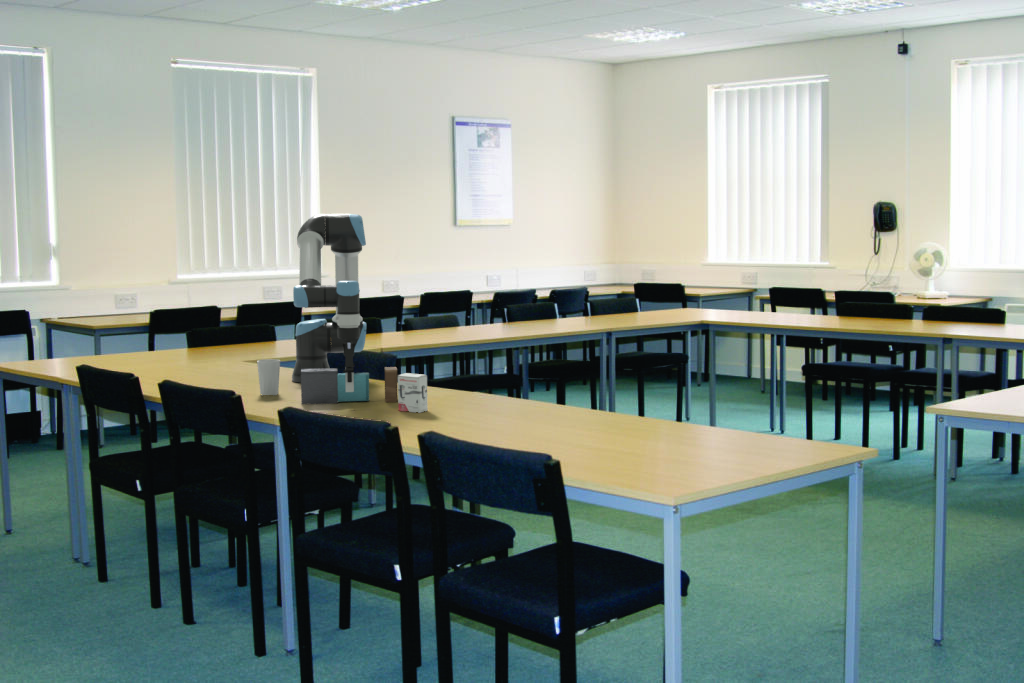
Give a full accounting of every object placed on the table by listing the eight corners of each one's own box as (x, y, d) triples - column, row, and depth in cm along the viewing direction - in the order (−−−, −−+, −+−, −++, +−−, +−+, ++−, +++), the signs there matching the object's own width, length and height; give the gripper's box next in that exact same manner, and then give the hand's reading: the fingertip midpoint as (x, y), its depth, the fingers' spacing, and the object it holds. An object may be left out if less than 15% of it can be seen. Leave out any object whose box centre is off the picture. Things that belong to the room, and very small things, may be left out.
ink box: (397, 411, 351) (396, 374, 349) (405, 408, 355) (405, 372, 354) (420, 413, 347) (419, 376, 345) (428, 410, 351) (428, 374, 350)
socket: (384, 398, 375) (384, 367, 373) (396, 398, 375) (396, 367, 374) (385, 402, 368) (385, 369, 367) (397, 401, 369) (397, 369, 367)
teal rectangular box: (303, 400, 369) (303, 374, 368) (368, 398, 372) (368, 372, 371) (303, 402, 365) (302, 375, 364) (369, 400, 368) (368, 374, 367)
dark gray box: (302, 400, 370) (301, 368, 369) (337, 400, 372) (337, 368, 371) (301, 404, 364) (300, 371, 362) (337, 403, 365) (337, 370, 364)
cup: (278, 396, 381) (277, 362, 379) (255, 396, 381) (254, 362, 380) (283, 392, 389) (282, 359, 387) (261, 392, 389) (260, 359, 388)
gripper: (337, 323, 378) (338, 384, 380) (337, 330, 354) (338, 394, 356) (359, 323, 379) (360, 383, 382) (360, 329, 355) (361, 394, 357)
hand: (349, 389), depth 369 cm, fingers open, 13 cm apart
